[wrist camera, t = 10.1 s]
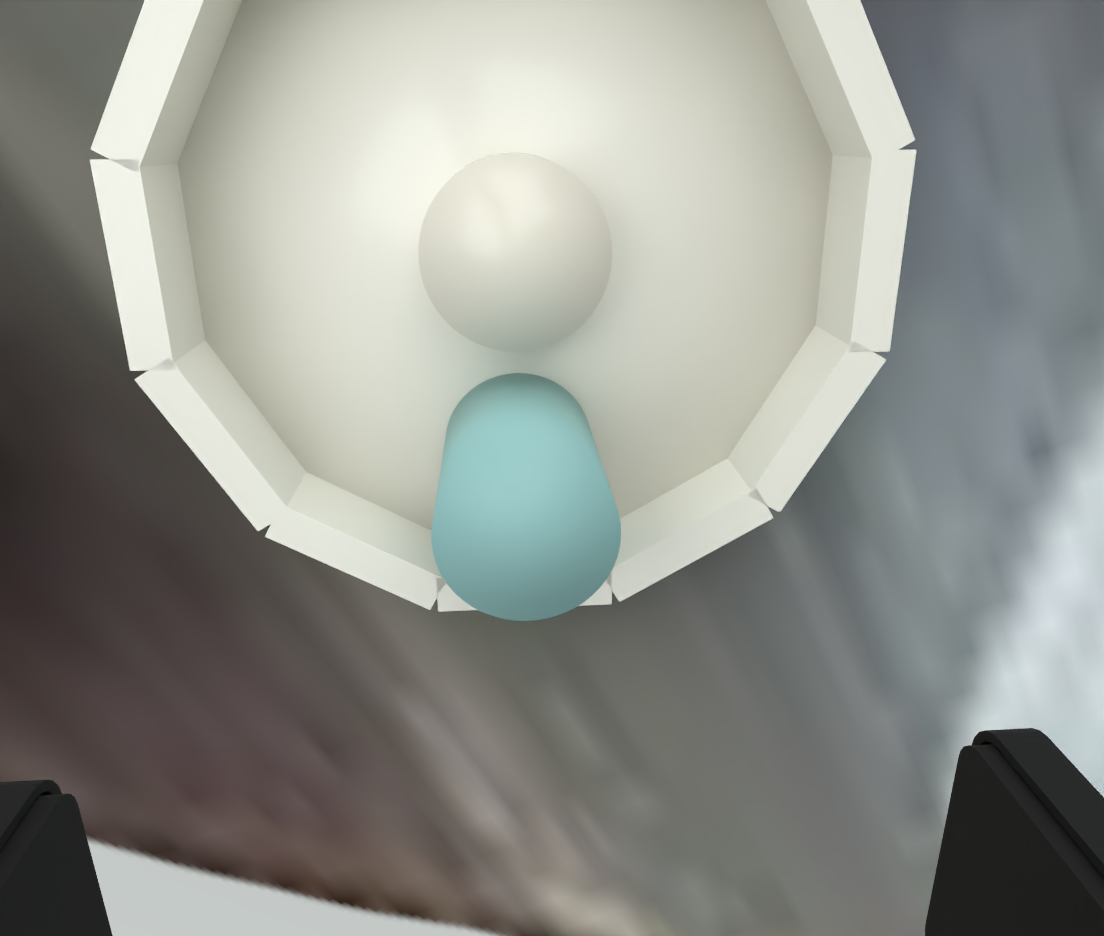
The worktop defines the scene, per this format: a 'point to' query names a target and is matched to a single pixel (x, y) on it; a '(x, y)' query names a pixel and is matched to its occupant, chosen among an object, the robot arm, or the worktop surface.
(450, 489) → the teal bead
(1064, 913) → the robot arm
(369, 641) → the worktop surface
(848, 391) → the groove tray
